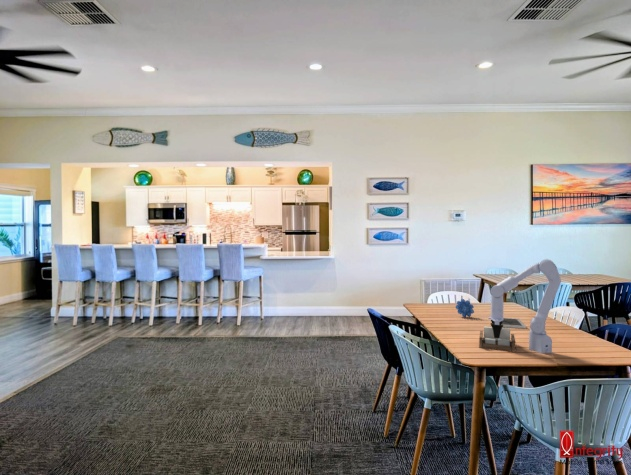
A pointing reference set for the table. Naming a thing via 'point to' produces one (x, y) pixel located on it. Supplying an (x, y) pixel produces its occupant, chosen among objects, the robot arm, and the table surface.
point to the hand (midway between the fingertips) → (496, 336)
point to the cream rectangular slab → (489, 333)
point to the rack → (496, 346)
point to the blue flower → (465, 308)
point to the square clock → (513, 323)
